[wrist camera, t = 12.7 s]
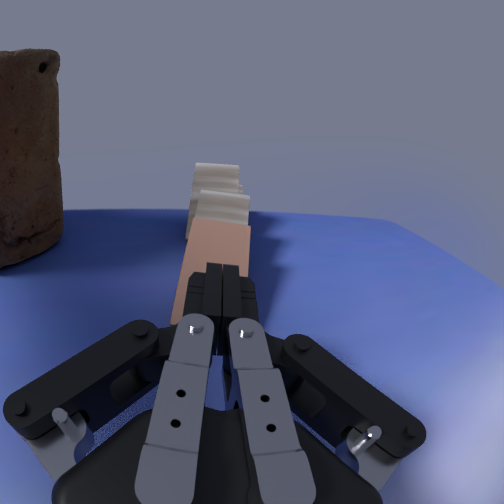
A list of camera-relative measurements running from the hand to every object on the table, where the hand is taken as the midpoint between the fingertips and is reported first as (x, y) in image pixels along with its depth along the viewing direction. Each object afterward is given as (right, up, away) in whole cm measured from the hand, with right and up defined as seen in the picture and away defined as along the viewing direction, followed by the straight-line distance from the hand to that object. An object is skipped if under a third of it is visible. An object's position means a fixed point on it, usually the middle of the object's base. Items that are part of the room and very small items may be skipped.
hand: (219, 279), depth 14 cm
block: (-23, +1, +10) cm, 25 cm away
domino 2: (-2, -4, +6) cm, 7 cm away
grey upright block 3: (-3, +2, +16) cm, 16 cm away
